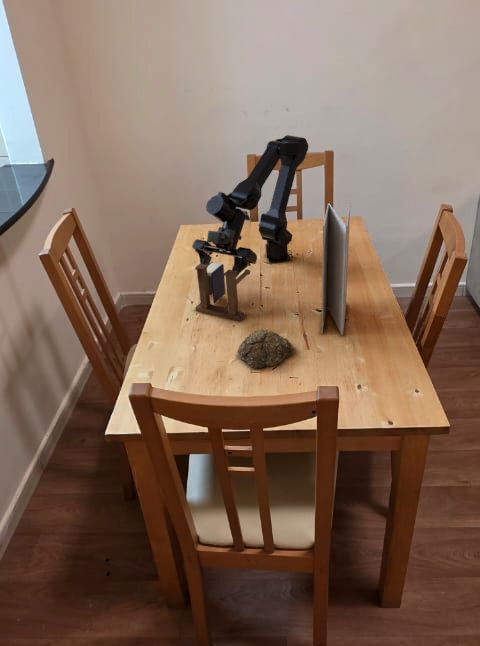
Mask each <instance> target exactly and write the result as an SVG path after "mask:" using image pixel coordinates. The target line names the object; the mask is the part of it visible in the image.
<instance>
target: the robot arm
mask: <svg viewBox="0 0 480 646" xmlns="http://www.w3.org/2000/svg"><path fill="white" fill-rule="evenodd" d="M308 151H309V142H308V141H307V139H306V138H305V137H303V136H302V137H301V136H297V135H296V136H295V135H290V134H287V135H285V136H284V137H281V138H276V139H275V140H270V141H268V142H267V145H266V149H265V150H264V151H263V153H262V155H261V156H260V158H259V160H258V161H257V162H256V164H255V165H254V167H253V168H252V171H250V173H249V174H248V176H247V177H246V178H245V179H244V180H242V181H240V182H239V183H238V184H237V185H236V186H235V187H234V188H233V190H232V191H231V192H230V193H228V194H226V193H225V192H223V191H218V192H217V194H216V195H213V196H211V198H209V199H208V200H207V201H206V207H205V210H206V212H207V213H208V214H210V215H211V216H212V217H214V218H215V219H216V220H218V221H219V222H221V223H222V225H221V226H219V227H218V228H217V231H216V230H208V231H207V237H206V240H202V239H195V240H194V241H193V243H192V246H191V248H192V249H193V250H194V251H195V253H197V254H198V257H199V264H204V265H209V264H210V263H211V262H212V259H213V257H212V256H211V255H213V254H220V255H224V256H230V257H233V261H234V262H233V266H232V268H231V270H234V271H237V273H236V278H238V277H239V276H240V275H241V274H242V272H243V271H245V270H246V269H247V267H251V266H252V265H256V264H257V260H258V255H257V254H256V253H255V252H254V251H253V249H251V248H249V247H243V246H239V247H238V244H239V241H241V240H242V235H241V234H242V231H243V227H244V224H245V222H246V221H250V220H251V218H250V215H249V214H248V211H253V210H254V209H256V208H257V206H258V204H259V202H260V200H261V198H262V195H263V194H262V193H263V192H262V189H263V187H264V185H265V184H266V182H267V180H268V178H269V177H270V176H271V174H272V172H273V171H274V169H275V167H276V166H277V164H278V163H279V161H280V166H279V171H278V175H277V179H276V182H275V187H274V191H273V195H272V198H271V202H270V207H269V209H268V211H267V212H266V213H262V214H261V215H260V220H259V223H258V225H257V226H258V232H259V235H260V237H261V240H263V241H266V243H265V244H264V251H265V252H264V253H265V258H266V259H267V261H268V263H271V264H272V263H279V262H280V263H281V262H289V260H290V258H289V255H288V253H289V252H288V251H289V250H288V249H289V248H288V246H289V245H290V243H291V242H292V240H293V236H294V235H293V234H292V232H290V231H289V230H288V229H287V228H288V220H287V216H286V212H287V208H288V203H289V199H290V196H291V192H292V189H293V184H294V180H295V176H296V172H297V169H298V168H299V166H300V165H301V164H302V163H303V162H304V161H305V160H306V156H307V153H308ZM211 243H212V244H211ZM237 247H238V248H237Z"/></svg>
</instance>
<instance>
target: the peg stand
mask: <svg viewBox="0 0 480 646" xmlns="http://www.w3.org/2000/svg"><path fill="white" fill-rule="evenodd" d="M207 267H208V265H204V264H200V263H199V264H197V266H195V267H194V269H195V270H196V275H197V276H196V277H197V284H198V291H199V293H198V294H199V301H200V303H199V304H197V305H196V306H195V311H196V312H199V313H204V314H208V315H212V316H217V317H220V318H225V319H229V320H233V321H237V322H240V321H242V319H243V318H244V317H245V315H246V314H245V311H241V310H239V299H238V286H237V285H239V284H240V283H241V282H242V281H243V280H244V279H245V278H246V277H247V276H249V275H250V274H251V269H248V268H245V269H244V270H243V271H244V272H243V273H241V274H239V275H238V276H237V277H236V273H237V271H234V270H232V269H227V270H226V271H224V277H225V287H226V296H227V307H223V306H221V305H220V306H219V305H215V304H211V295H210V294H209V285H208V279H209V278H210V277H211V276H208V275H207Z"/></svg>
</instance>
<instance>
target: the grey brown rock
mask: <svg viewBox="0 0 480 646" xmlns="http://www.w3.org/2000/svg"><path fill="white" fill-rule="evenodd" d="M292 353H293V347H292V344H291V342H289V340H288V339H287V338H286V337H284V336H282V335H280V334H278V333H277V332H275V331H271V330H268V329H262V328H261V329H259V330H253V331H252V332H251V333H249V334H248V336H246V337H245V339H244V340H243V341H242V343H241V344H240V345H239V347H238V350H237V357H238V359H240V360H242V361H244V362H246V363H247V365H248V366H249V367H250V368H253V369H263V368H265V367H273V366H276V365H277V364H278V365H279V364H280V363H281V362H282V361H283V360H284V359H285V358H288V357H290V356H291V355H292Z"/></svg>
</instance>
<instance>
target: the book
mask: <svg viewBox="0 0 480 646" xmlns="http://www.w3.org/2000/svg"><path fill="white" fill-rule="evenodd" d="M224 273H225V265H224V263H220V262H216V261H210V264H209V265H208V267H207V275H208V276H211V277H210V278H209V279H208V285H209V294H210V296H211V295H212V300H213V303H214V304H216V303H217V302H218V301H219V300H220V299H221V298H222V297H223V296H224V295H225V294H226V278H225V276H224Z"/></svg>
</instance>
